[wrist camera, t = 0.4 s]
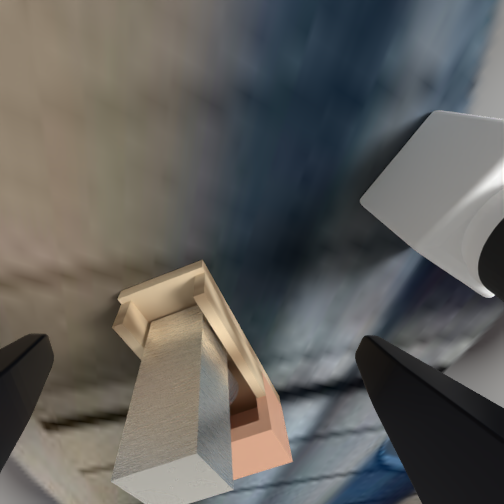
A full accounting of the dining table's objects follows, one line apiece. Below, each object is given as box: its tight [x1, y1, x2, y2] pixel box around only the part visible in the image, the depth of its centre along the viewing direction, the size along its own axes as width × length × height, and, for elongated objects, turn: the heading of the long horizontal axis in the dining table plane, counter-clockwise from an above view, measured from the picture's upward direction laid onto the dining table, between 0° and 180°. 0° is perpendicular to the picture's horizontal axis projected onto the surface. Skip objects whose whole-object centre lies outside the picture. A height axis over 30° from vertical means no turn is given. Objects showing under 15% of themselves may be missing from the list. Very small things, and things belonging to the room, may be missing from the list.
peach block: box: [230, 373, 293, 480], centre depth 27 cm, size 6×7×5 cm
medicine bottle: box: [360, 110, 504, 302], centre depth 16 cm, size 7×7×12 cm
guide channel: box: [112, 260, 280, 416], centre depth 26 cm, size 19×7×3 cm, turn 21°
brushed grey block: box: [111, 305, 239, 504], centre depth 20 cm, size 9×4×10 cm, turn 21°
